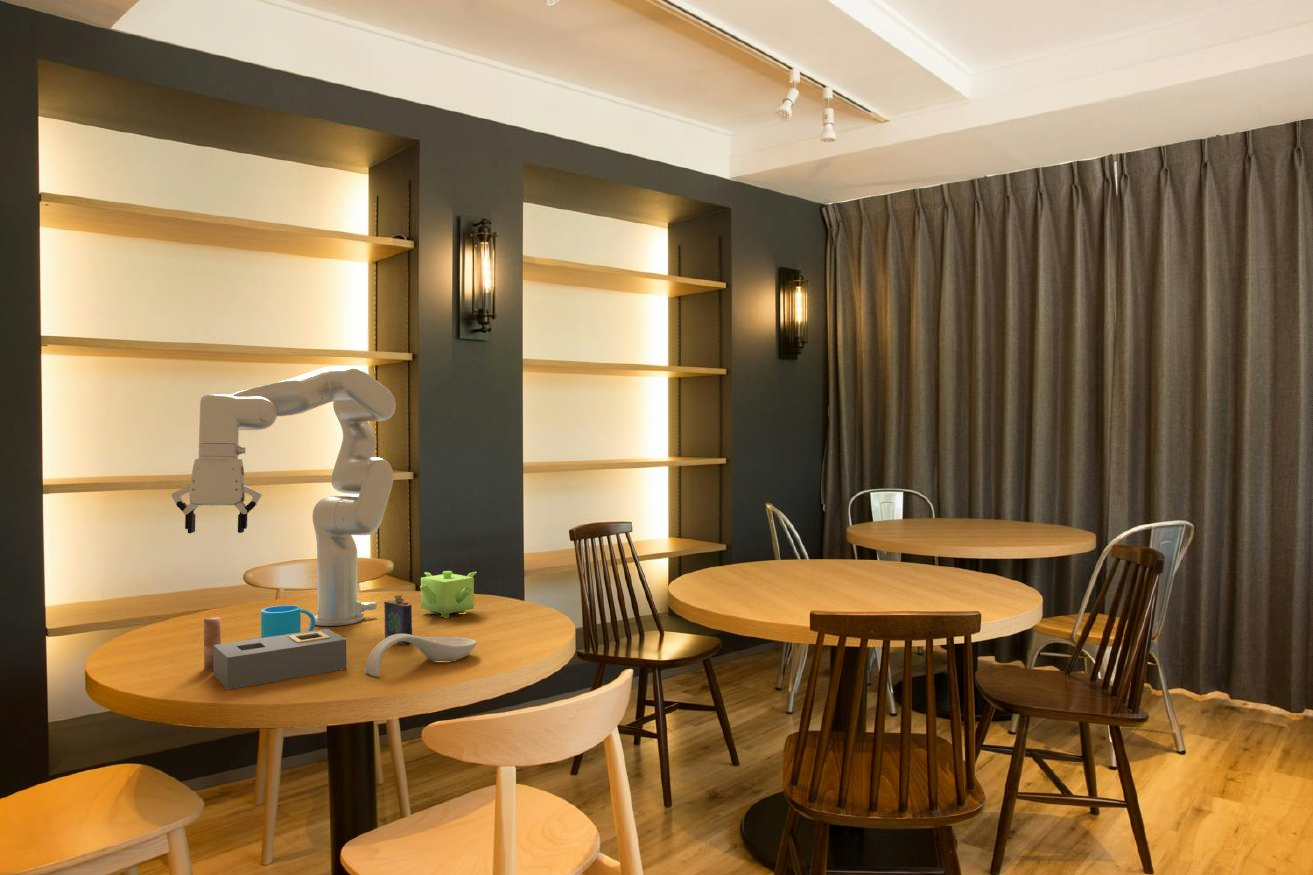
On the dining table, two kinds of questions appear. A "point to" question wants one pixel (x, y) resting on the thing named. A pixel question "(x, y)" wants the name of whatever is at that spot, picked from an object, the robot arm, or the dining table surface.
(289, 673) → the bore block
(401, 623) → the flask
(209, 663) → the pin
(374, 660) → the spoon rest
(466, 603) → the green block with protrusions
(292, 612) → the mug
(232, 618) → the dining table surface
